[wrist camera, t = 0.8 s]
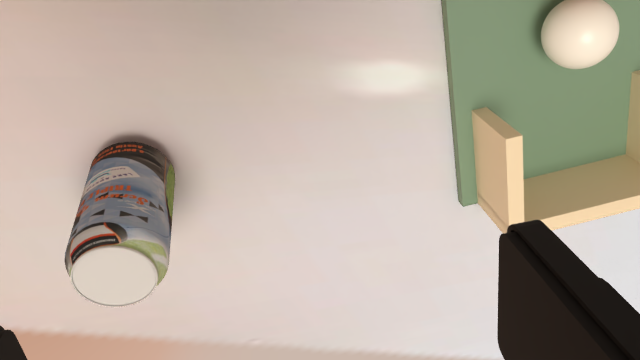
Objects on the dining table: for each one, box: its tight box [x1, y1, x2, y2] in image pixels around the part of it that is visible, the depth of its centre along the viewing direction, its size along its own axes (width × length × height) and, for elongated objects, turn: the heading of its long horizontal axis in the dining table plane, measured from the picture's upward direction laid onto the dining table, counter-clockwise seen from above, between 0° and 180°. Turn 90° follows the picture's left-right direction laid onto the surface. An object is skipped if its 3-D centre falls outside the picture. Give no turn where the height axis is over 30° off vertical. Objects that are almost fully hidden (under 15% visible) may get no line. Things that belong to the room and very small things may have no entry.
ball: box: [541, 0, 619, 69], centre depth 39 cm, size 5×5×5 cm
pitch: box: [441, 0, 640, 234], centre depth 38 cm, size 32×17×7 cm, turn 11°
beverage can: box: [65, 142, 175, 307], centre depth 37 cm, size 6×7×12 cm
